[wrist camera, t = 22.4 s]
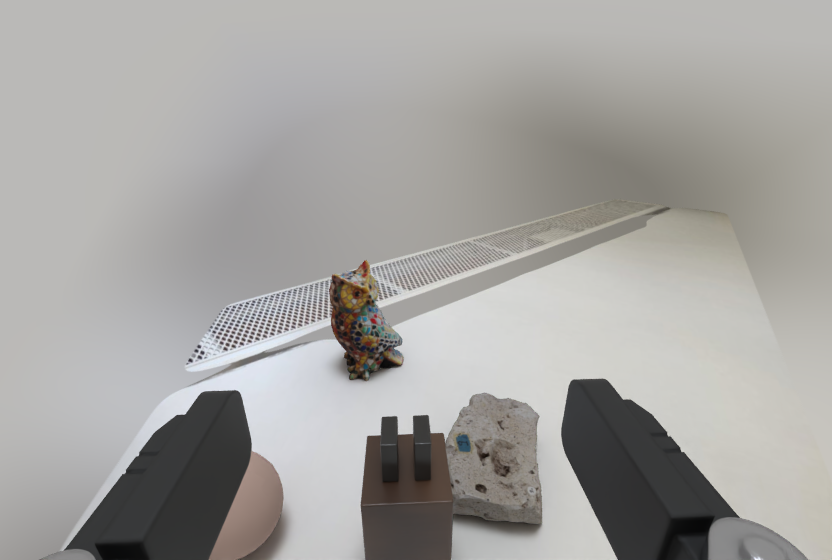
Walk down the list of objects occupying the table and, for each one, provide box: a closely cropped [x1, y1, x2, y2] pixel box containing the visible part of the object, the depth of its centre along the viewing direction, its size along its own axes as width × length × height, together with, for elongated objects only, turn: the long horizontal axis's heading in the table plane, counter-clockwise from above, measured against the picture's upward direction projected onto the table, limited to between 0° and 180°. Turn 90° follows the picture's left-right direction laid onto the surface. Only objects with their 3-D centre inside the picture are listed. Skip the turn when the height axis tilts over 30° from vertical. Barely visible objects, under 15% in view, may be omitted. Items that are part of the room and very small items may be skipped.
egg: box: [209, 451, 283, 560], centre depth 30 cm, size 7×7×8 cm
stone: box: [445, 393, 542, 524], centre depth 37 cm, size 13×6×10 cm
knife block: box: [361, 415, 453, 560], centre depth 27 cm, size 5×5×14 cm
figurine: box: [329, 260, 403, 381], centre depth 51 cm, size 9×9×15 cm
